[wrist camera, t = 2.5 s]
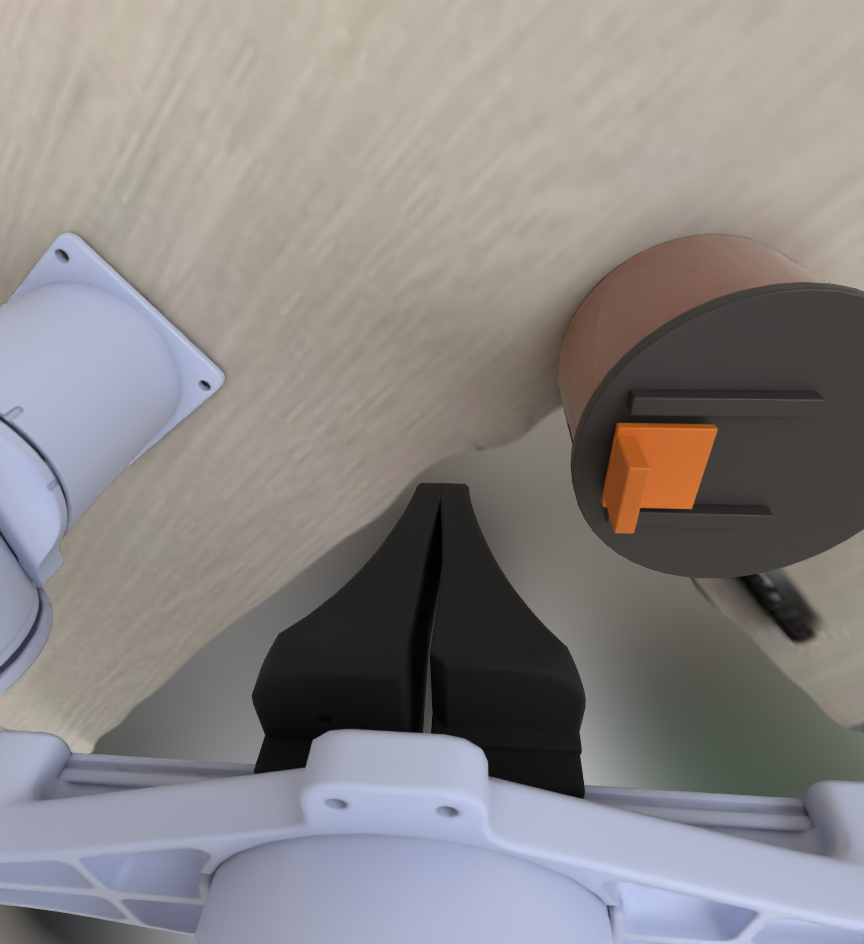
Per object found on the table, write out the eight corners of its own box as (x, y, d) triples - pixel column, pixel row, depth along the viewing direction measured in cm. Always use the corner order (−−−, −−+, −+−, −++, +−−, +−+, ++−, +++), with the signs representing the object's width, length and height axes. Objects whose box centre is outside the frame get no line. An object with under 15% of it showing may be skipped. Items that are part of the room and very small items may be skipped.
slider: (600, 501, 18) (612, 541, 16) (616, 422, 16) (630, 459, 15) (689, 503, 18) (708, 544, 16) (714, 423, 16) (739, 460, 14)
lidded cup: (539, 463, 26) (557, 583, 20) (565, 226, 20) (603, 295, 14) (770, 467, 26) (862, 594, 19) (871, 222, 19) (1056, 293, 13)
